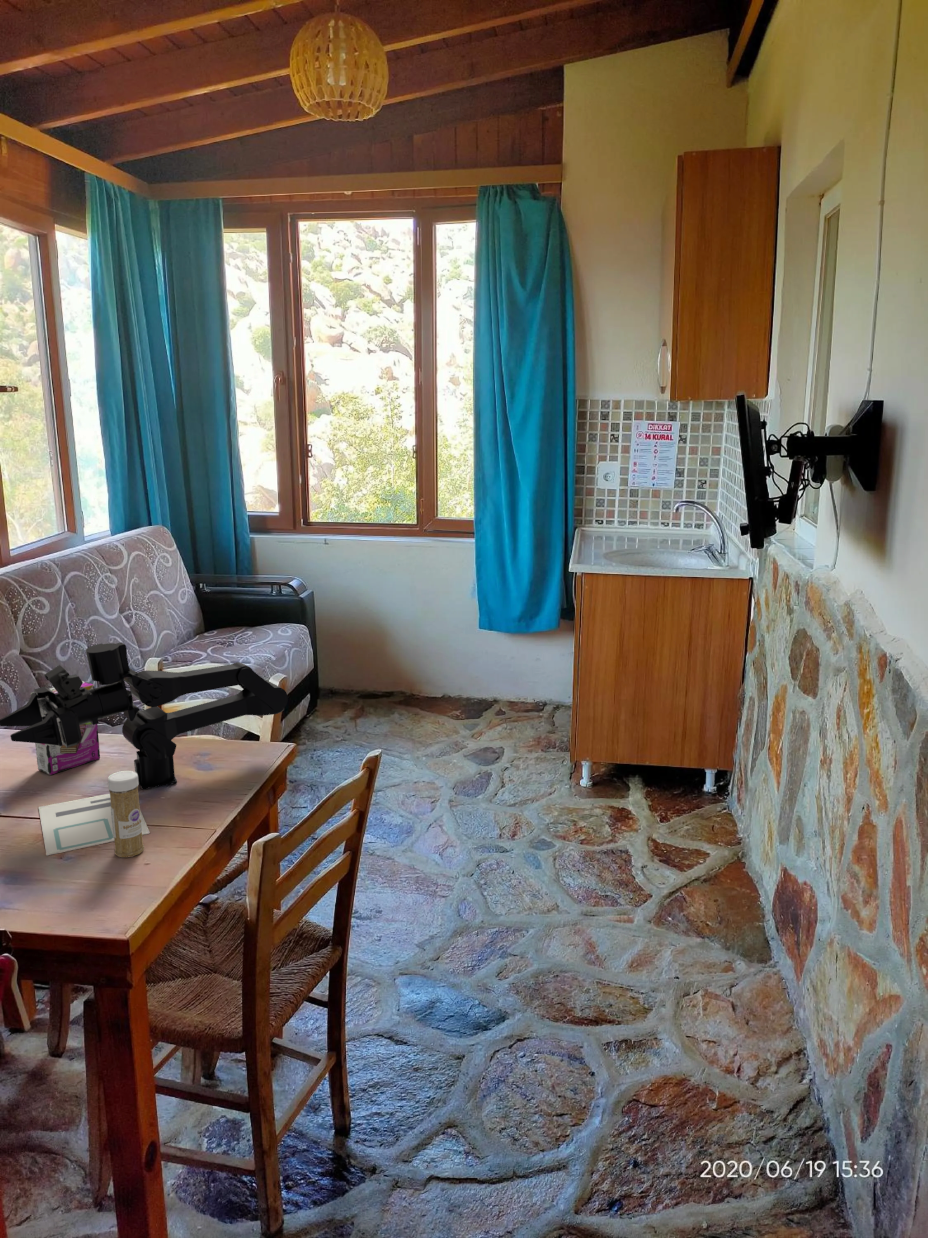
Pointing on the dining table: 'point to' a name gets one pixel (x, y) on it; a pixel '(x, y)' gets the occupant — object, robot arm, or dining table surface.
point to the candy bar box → (69, 748)
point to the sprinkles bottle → (125, 813)
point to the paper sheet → (78, 824)
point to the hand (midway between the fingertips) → (5, 730)
